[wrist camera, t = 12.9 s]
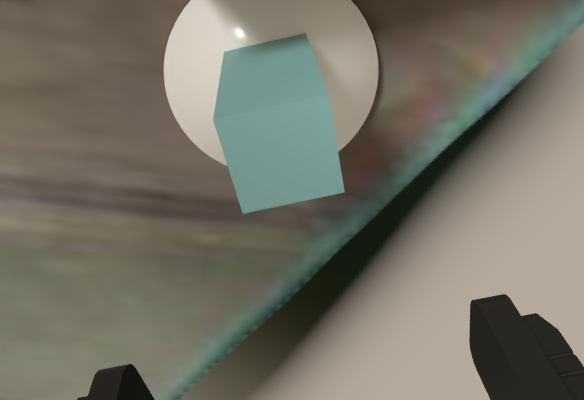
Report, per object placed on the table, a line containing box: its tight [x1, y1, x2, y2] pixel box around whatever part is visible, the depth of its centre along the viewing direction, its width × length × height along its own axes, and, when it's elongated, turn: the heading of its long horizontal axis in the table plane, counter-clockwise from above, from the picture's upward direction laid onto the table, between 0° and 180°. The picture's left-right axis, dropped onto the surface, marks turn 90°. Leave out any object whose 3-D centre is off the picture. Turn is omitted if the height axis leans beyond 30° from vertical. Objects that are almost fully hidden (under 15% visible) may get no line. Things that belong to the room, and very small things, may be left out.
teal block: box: [213, 33, 345, 214], centre depth 23 cm, size 4×4×9 cm
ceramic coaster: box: [164, 0, 378, 166], centre depth 27 cm, size 12×12×1 cm
